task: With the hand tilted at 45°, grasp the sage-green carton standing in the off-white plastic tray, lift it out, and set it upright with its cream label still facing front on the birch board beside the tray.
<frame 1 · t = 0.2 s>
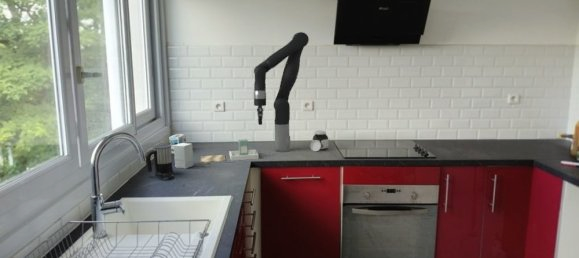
hand: (260, 123, 262), 18 cm above the worktop, tool pointing down, fingers open, 8 cm apart
board: (213, 159, 247), on the worktop
milk frother: (165, 176, 216), on the worktop
carton: (243, 156, 250), point 1 cm above the worktop, touching tray
supplement box: (184, 166, 233), on the worktop
tray: (243, 157, 251), on the worktop
light bulb box: (178, 152, 270), on the worktop
spread jar: (319, 150, 268), on the worktop
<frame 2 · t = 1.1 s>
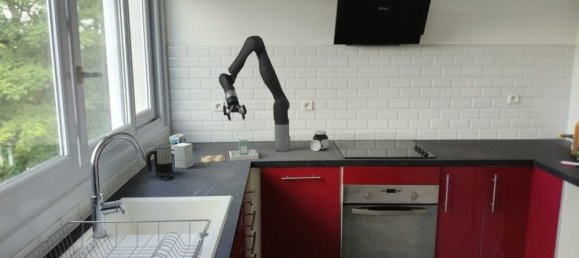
hand: (237, 119, 257), 22 cm above the worktop, tool tilted 45°, fingers open, 8 cm apart
nothing on the worktop moved.
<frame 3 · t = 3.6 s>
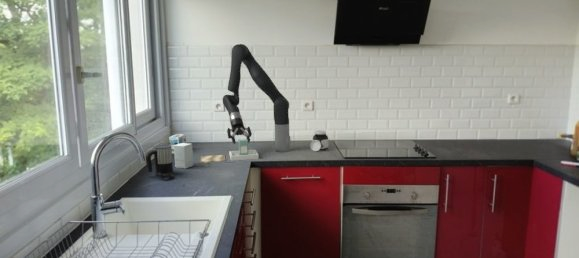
hand: (241, 142, 251), 9 cm above the worktop, tool tilted 45°, fingers open, 8 cm apart
nothing on the worktop moved.
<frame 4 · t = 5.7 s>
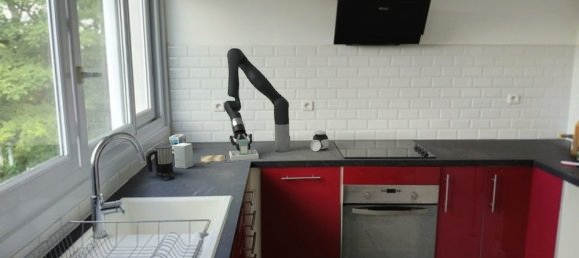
hand: (244, 149, 248), 5 cm above the worktop, tool tilted 45°, fingers closed on carton, 5 cm apart
carton: (243, 156, 250), point 1 cm above the worktop, touching gripper, tray
everything else where it was.
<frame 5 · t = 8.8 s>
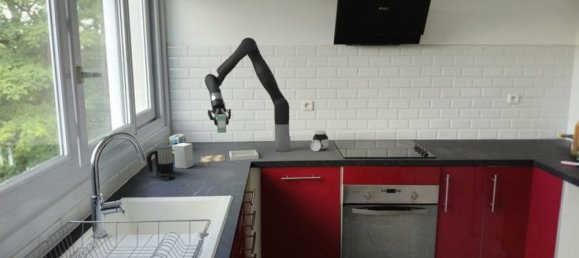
hand: (222, 124, 243), 21 cm above the worktop, tool tilted 45°, fingers closed on carton, 5 cm apart
carton: (221, 131, 246), point 16 cm above the worktop, touching gripper
everything else where it was.
when the fingers open (7 cm above the worktop, at t = 12.3 s): carton drops 1 cm, resting on board.
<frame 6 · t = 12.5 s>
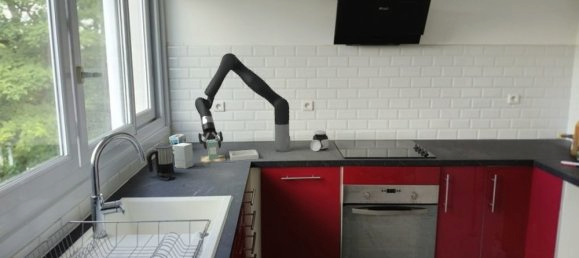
hand: (213, 147, 244), 8 cm above the worktop, tool tilted 45°, fingers open, 7 cm apart
carton: (213, 158, 247), point 1 cm above the worktop, touching board
everything else where it was.
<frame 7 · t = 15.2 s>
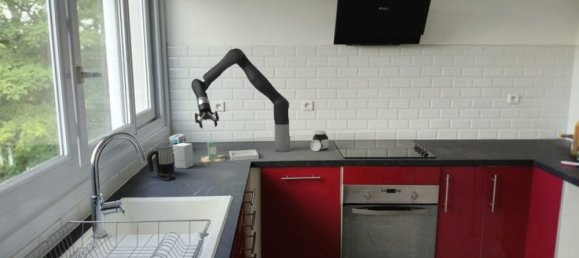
hand: (209, 126, 255), 18 cm above the worktop, tool tilted 45°, fingers open, 8 cm apart
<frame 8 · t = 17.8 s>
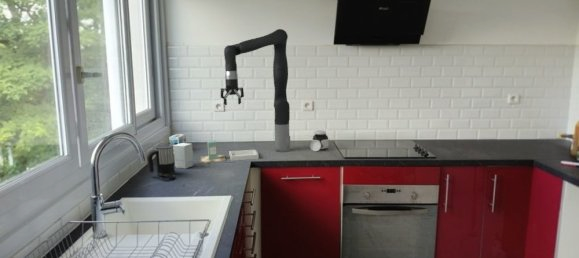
hand: (232, 104, 262), 30 cm above the worktop, tool pointing down, fingers open, 8 cm apart
at the end: carton inside the target area on the board (0.1 cm from its centre), point 1.0 cm above the board's base; carton tilted 0°; the gripper is holding nothing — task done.
